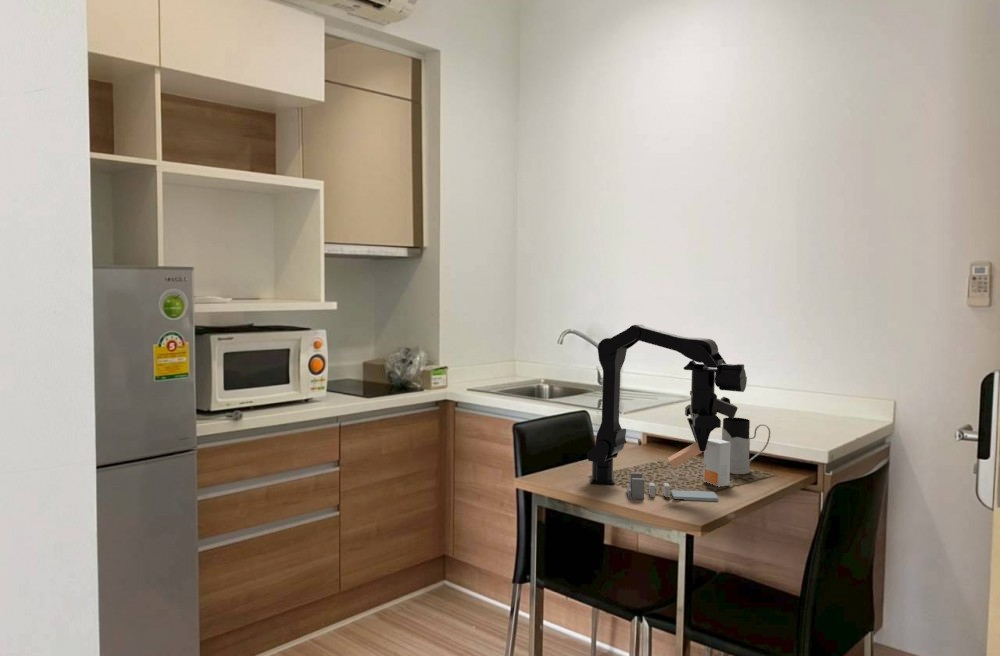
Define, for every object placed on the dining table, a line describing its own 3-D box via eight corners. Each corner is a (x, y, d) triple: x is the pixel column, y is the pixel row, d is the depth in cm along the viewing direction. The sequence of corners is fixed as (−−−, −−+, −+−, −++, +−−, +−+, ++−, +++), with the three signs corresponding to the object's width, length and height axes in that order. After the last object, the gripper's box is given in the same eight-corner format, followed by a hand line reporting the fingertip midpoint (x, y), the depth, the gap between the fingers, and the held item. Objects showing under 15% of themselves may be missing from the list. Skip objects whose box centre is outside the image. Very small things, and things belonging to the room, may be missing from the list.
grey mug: (716, 466, 234) (717, 416, 233) (764, 467, 233) (766, 417, 232) (723, 473, 225) (724, 422, 224) (773, 474, 224) (774, 423, 223)
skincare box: (702, 482, 215) (703, 439, 214) (713, 480, 217) (715, 437, 216) (718, 487, 209) (719, 443, 209) (730, 485, 212) (731, 441, 211)
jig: (627, 490, 205) (627, 472, 204) (667, 492, 204) (667, 473, 203) (628, 498, 198) (629, 479, 197) (670, 500, 197) (670, 480, 196)
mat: (671, 493, 203) (671, 490, 203) (714, 494, 202) (714, 491, 202) (673, 499, 197) (673, 496, 197) (718, 501, 196) (718, 498, 196)
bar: (671, 464, 202) (667, 457, 202) (705, 445, 200) (701, 438, 200) (673, 468, 198) (669, 461, 198) (708, 448, 196) (704, 442, 196)
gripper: (743, 394, 188) (741, 458, 189) (728, 384, 206) (726, 442, 207) (695, 393, 189) (694, 457, 190) (685, 383, 207) (683, 441, 208)
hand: (701, 449), depth 199 cm, fingers closed on bar, 4 cm apart
